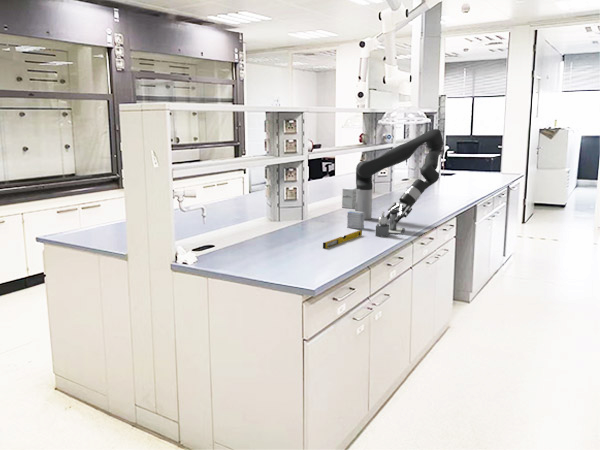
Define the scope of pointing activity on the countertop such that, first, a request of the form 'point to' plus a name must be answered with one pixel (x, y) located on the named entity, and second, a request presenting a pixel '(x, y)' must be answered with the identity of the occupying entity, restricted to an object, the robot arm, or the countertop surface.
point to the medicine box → (355, 219)
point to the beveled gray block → (382, 226)
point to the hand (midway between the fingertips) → (390, 220)
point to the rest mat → (397, 231)
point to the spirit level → (342, 239)
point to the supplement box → (348, 197)
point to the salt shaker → (392, 217)
